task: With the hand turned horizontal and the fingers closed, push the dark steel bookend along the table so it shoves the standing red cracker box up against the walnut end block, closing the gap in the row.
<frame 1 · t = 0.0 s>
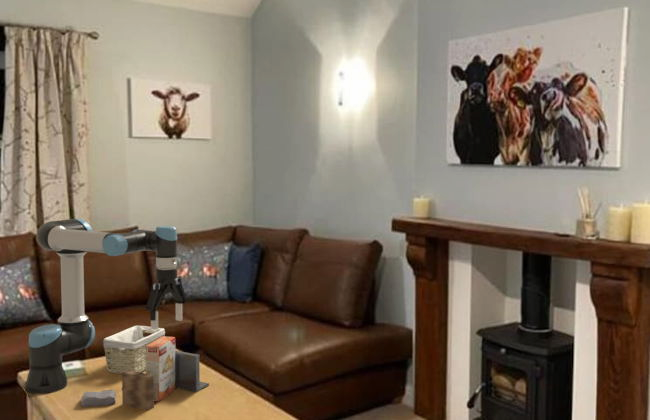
hand: (167, 324, 237), 28 cm above the table, tool pointing down, fingers open, 13 cm apart
end block: (138, 405, 231), on the table
bookend: (188, 368, 252), point 7 cm above the table, slide at 0.0 cm
stone block: (99, 402, 236), on the table
storage basket: (135, 367, 275), on the table
cracker box: (161, 395, 242), on the table
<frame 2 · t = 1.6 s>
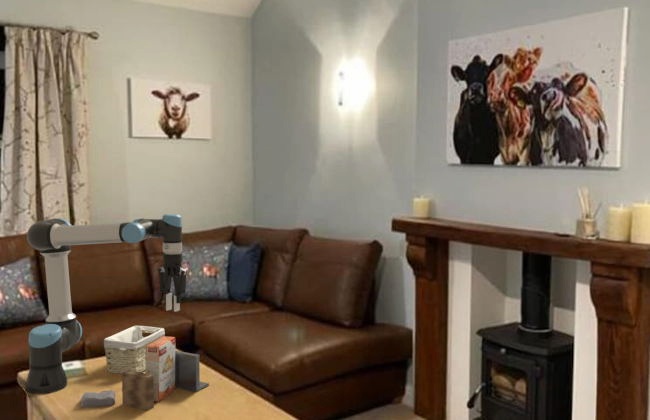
hand: (172, 310, 257), 29 cm above the table, tool pointing down, fingers open, 3 cm apart
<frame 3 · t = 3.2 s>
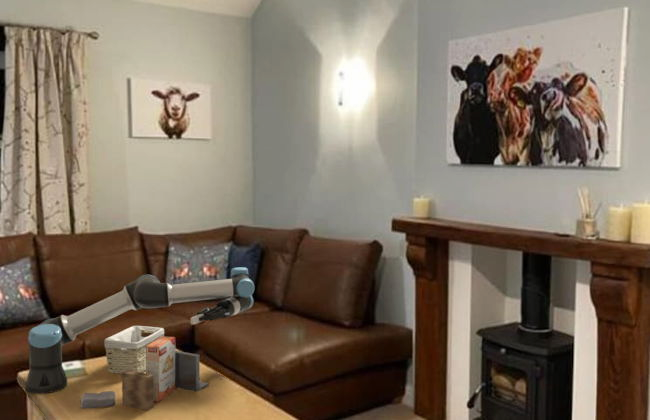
hand: (192, 321, 253), 25 cm above the table, tool horizontal, fingers closed
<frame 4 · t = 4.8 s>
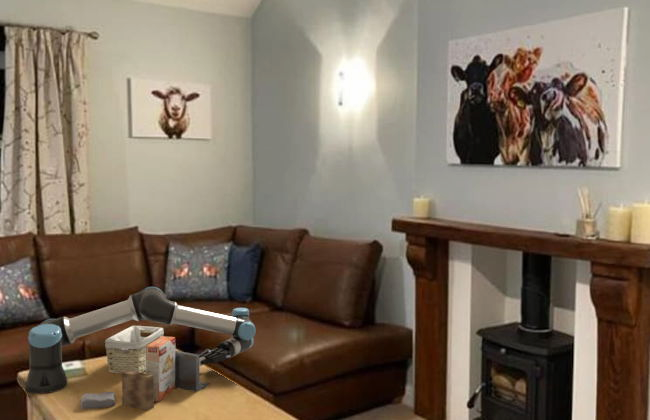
hand: (193, 364, 255), 7 cm above the table, tool horizontal, fingers closed
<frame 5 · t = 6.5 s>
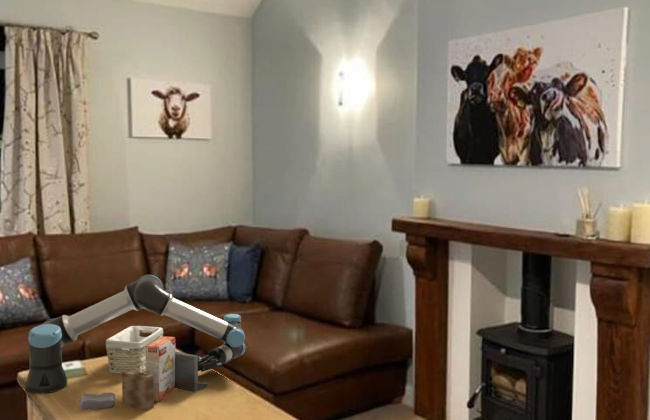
hand: (183, 372, 249), 6 cm above the table, tool horizontal, fingers closed
bookend: (186, 369, 251), point 7 cm above the table, slide at 1.1 cm, touching gripper
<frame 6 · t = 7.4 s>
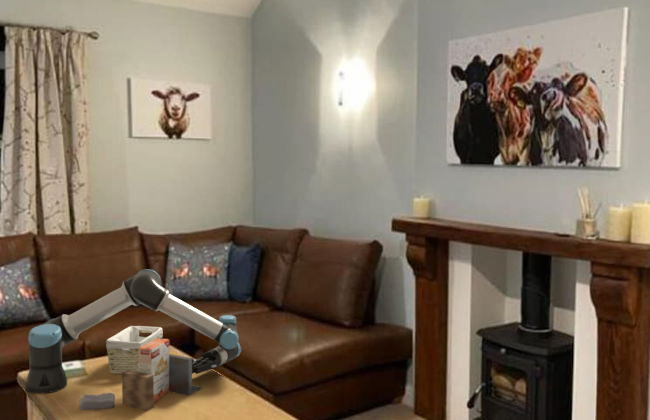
hand: (177, 375, 246), 6 cm above the table, tool horizontal, fingers closed
bookend: (180, 371, 248), point 7 cm above the table, slide at 4.6 cm, touching cracker box, gripper
cracker box: (154, 398, 240), on the table, touching bookend
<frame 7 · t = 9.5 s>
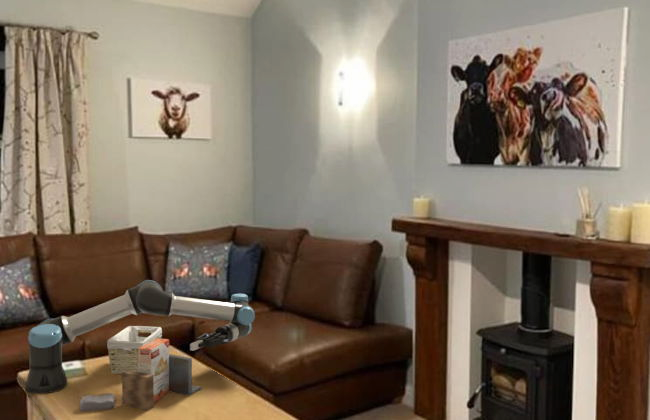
hand: (191, 347, 255), 14 cm above the table, tool horizontal, fingers closed
bookend: (180, 371, 248), point 7 cm above the table, slide at 4.7 cm
cracker box: (154, 398, 239), on the table
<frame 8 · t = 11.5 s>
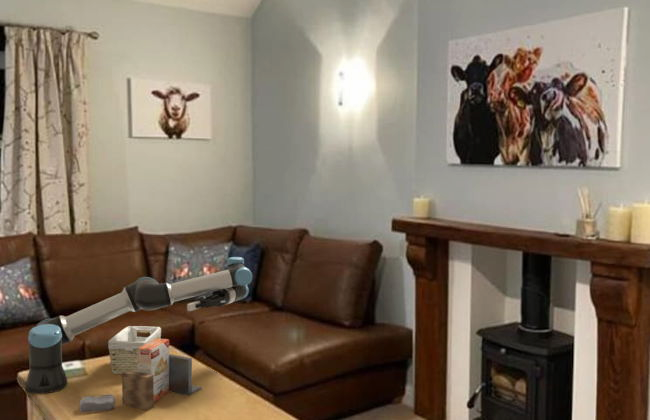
hand: (188, 307, 256), 30 cm above the table, tool horizontal, fingers closed
at the end: cracker box inside the target area (0.5 cm from its centre), on the table; cracker box tilted 0°; bookend slide at 4.7 cm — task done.
